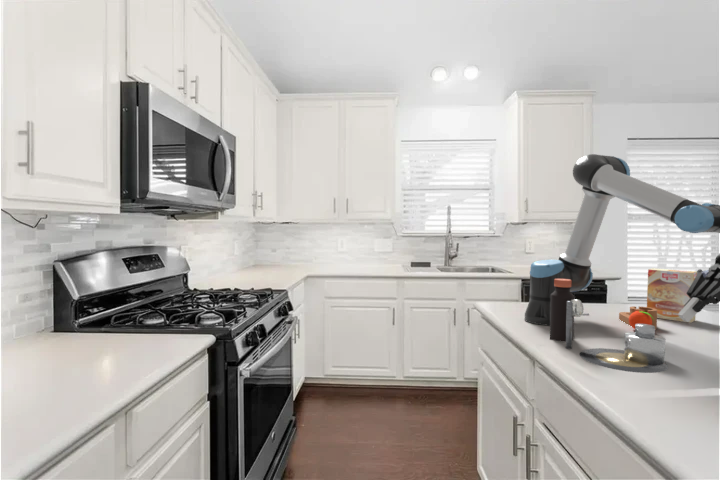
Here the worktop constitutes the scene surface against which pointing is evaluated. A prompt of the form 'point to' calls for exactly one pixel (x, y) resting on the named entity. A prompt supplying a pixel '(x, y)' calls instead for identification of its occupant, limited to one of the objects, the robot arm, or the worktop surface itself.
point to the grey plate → (619, 361)
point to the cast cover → (644, 345)
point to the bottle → (560, 309)
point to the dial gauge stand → (574, 310)
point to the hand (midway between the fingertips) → (682, 318)
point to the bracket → (653, 312)
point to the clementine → (640, 318)
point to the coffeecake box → (669, 292)
